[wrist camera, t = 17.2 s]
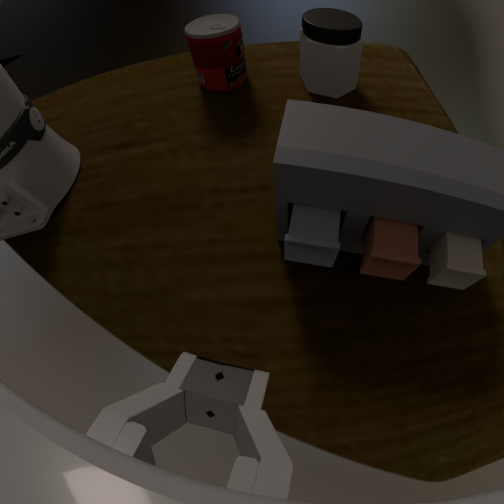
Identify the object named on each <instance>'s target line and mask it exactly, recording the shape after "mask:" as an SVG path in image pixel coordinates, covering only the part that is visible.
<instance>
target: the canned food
mask: <svg viewBox="0 0 504 504" xmlns="http://www.w3.org/2000/svg"><path fill="white" fill-rule="evenodd" d="M185 34H186V38H187V42H188V45H189V49H190V53H191V56H192V59H193V63H194V66H195V70H196V73H197V77H198V80H199V83H200V84H201V86H202V87H203V88H204V89H206V90H208V91H212V92H226V91H231V90H233V89H236V88H238V87H240V86H241V85H242V84H243V83H244V82H245V80H246V77H247V69H246V61H245V54H244V47H243V40H242V33H241V27H240V22H239V19H238V18H237V17H235V16H233V15H228V14H214V15H208V16H204V17H201V18H198V19H196V20H194V21H192V22H191V23H189V24H188V25H187V26H186V28H185Z"/></svg>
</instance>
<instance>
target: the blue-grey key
mask: <svg viewBox="0 0 504 504" xmlns="http://www.w3.org/2000/svg"><path fill="white" fill-rule="evenodd" d="M340 215H341V210H336V209H330V208H324V207H317V206H311V205H305V204H298V203H294V205H293V211H292V216H291V222H290V227H289V233H288V234H285V239H284V260H289V261H295V262H301V263H307V264H313V265H319V266H325V267H332V266H333V264H334V261H335V259H336V257H337V254H338V252H339V249H340V243H338V235H339V225H340Z"/></svg>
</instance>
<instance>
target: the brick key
mask: <svg viewBox="0 0 504 504" xmlns="http://www.w3.org/2000/svg"><path fill="white" fill-rule="evenodd" d="M420 265H421V258H418V225H416V224H412V223H407V222H402V221H396V220H391V219H386V218H381V217H375V216H370V218H369V220H368V222H367V225H366V227H365V241H364V254H363V264H362V266H361V267H360V271H359V273H360V274H366V275H372V276H378V277H385V278H391V279H397V280H404V279H405V278H406V277H408V276H409V275H410V274H411V273H412V272H413V271H414V270H415V269H416V268H417V267H418V266H420Z"/></svg>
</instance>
